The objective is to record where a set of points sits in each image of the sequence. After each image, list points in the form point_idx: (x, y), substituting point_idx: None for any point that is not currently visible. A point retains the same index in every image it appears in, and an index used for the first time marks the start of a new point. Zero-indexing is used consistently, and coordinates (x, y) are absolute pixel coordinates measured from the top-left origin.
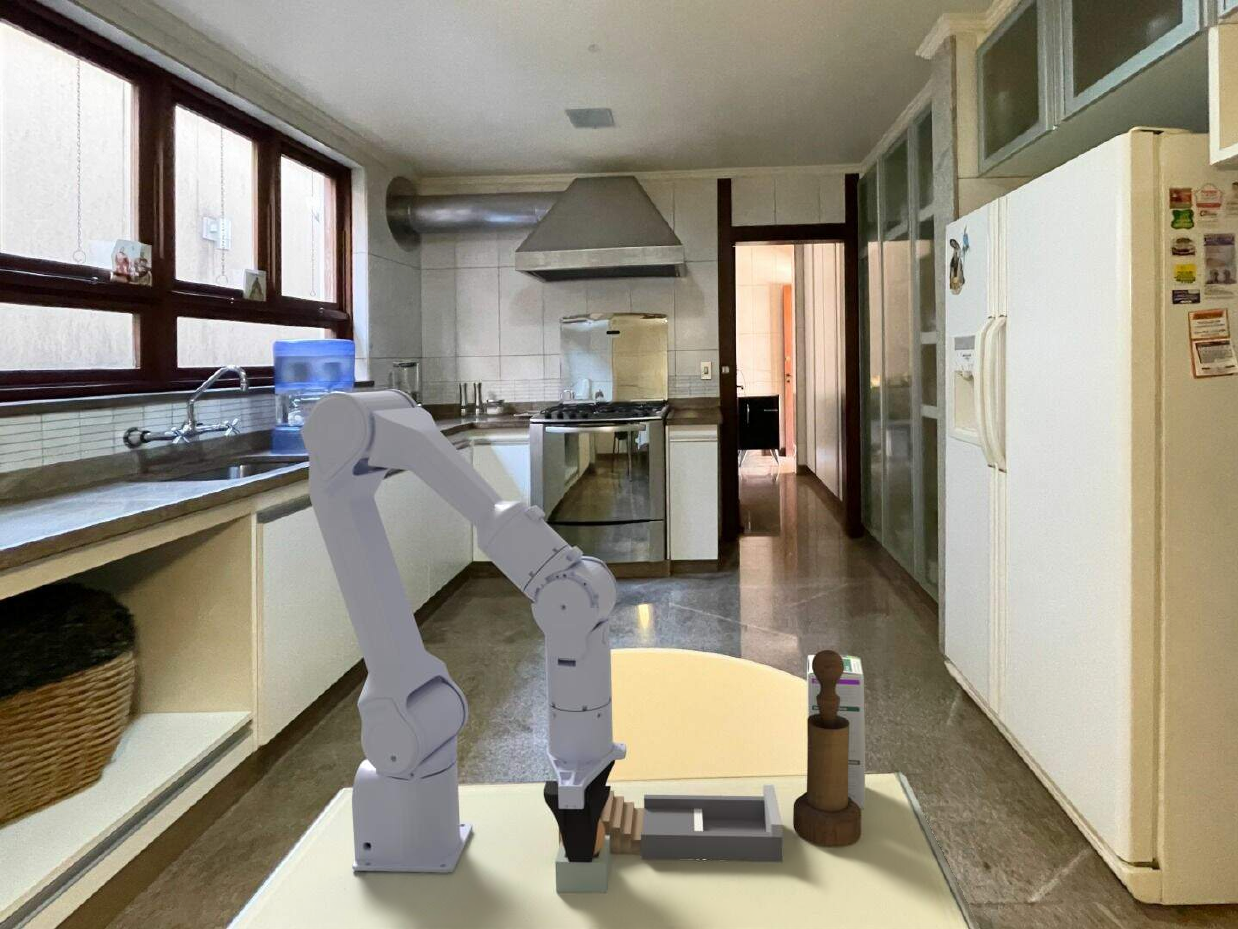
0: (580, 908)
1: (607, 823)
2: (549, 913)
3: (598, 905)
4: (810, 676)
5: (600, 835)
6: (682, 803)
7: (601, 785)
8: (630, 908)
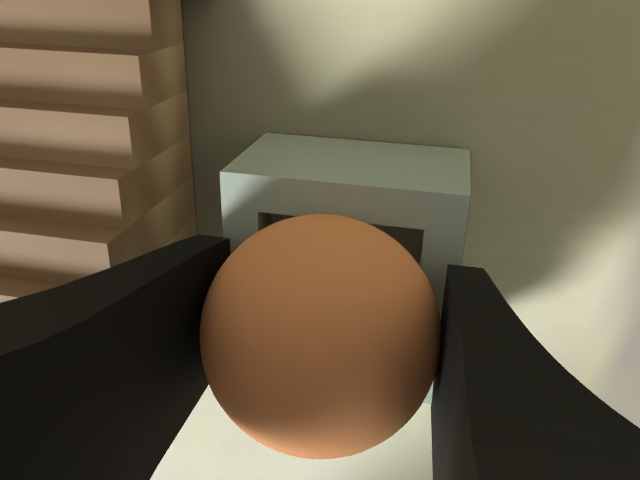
0: (560, 248)
1: (123, 184)
2: (574, 350)
3: (550, 180)
4: None
5: (379, 262)
6: None
7: (65, 359)
8: (594, 41)
